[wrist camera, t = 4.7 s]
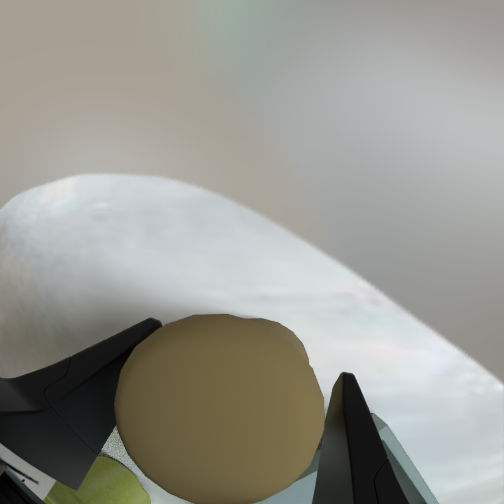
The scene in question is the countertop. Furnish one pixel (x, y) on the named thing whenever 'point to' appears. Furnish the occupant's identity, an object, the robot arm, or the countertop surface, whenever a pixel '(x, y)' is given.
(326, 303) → the countertop surface
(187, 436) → the cork
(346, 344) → the countertop surface
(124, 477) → the plant pot
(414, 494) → the tray
